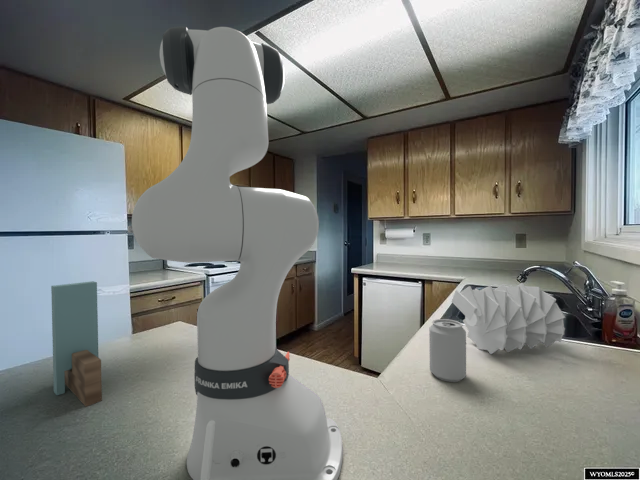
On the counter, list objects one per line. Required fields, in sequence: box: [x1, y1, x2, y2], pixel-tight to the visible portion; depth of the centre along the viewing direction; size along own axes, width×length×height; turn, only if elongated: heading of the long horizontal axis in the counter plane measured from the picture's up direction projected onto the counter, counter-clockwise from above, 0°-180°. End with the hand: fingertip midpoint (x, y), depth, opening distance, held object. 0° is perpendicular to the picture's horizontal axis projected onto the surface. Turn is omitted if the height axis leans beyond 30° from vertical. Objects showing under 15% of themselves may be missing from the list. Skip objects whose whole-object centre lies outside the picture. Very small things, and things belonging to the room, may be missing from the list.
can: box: [428, 318, 467, 383], centre depth 64 cm, size 8×8×12 cm
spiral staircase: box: [450, 282, 566, 355], centre depth 79 cm, size 18×18×25 cm
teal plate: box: [50, 281, 100, 396], centre depth 61 cm, size 2×7×22 cm, turn 143°
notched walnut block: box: [64, 350, 103, 408], centre depth 59 cm, size 16×2×8 cm, turn 53°
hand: (136, 228), depth 70 cm, fingers open, 8 cm apart
